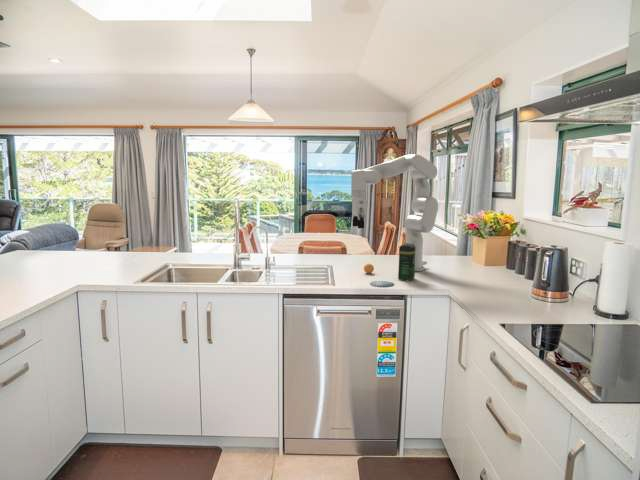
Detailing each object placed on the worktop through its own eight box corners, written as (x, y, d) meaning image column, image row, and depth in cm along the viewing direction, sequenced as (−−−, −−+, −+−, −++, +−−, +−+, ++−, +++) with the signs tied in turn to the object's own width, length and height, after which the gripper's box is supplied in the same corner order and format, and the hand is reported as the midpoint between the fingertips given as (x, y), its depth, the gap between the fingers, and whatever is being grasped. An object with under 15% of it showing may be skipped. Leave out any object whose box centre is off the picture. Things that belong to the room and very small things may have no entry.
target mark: (381, 280, 210) (381, 279, 210) (399, 284, 200) (399, 284, 200) (364, 283, 203) (364, 283, 203) (382, 288, 193) (382, 288, 193)
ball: (368, 271, 230) (369, 262, 229) (375, 273, 225) (375, 263, 225) (361, 273, 227) (361, 263, 226) (368, 274, 222) (368, 264, 221)
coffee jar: (411, 281, 206) (412, 245, 204) (396, 280, 210) (397, 244, 207) (416, 277, 215) (417, 243, 212) (401, 276, 218) (402, 242, 216)
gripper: (370, 194, 203) (370, 228, 205) (360, 193, 220) (360, 225, 222) (356, 194, 201) (355, 229, 204) (347, 193, 218) (346, 225, 220)
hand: (358, 227), depth 213 cm, fingers open, 9 cm apart
